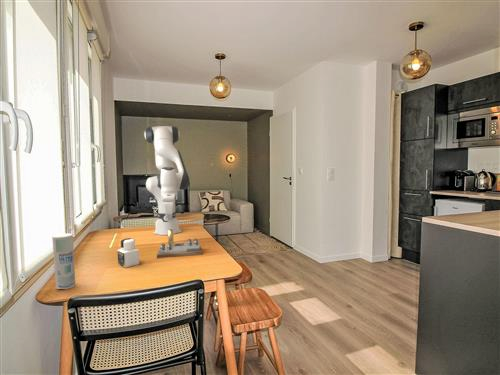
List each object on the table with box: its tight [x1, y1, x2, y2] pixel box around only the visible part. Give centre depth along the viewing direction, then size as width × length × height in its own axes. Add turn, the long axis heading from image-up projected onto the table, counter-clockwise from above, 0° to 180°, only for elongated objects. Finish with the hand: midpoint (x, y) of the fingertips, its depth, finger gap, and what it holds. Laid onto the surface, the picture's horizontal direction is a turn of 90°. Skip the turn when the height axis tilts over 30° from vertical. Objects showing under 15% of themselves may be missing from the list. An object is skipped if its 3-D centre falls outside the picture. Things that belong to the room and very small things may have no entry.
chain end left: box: [158, 242, 187, 254], centre depth 152 cm, size 7×14×4 cm, turn 103°
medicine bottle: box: [117, 237, 140, 269], centre depth 136 cm, size 7×7×12 cm
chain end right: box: [172, 238, 200, 252], centre depth 154 cm, size 7×14×5 cm, turn 103°
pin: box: [167, 229, 175, 246], centre depth 163 cm, size 3×3×10 cm
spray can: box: [52, 232, 76, 290], centre depth 111 cm, size 6×6×20 cm
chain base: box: [156, 245, 203, 259], centre depth 153 cm, size 11×22×2 cm, turn 103°
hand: (170, 221), depth 162 cm, fingers open, 8 cm apart
